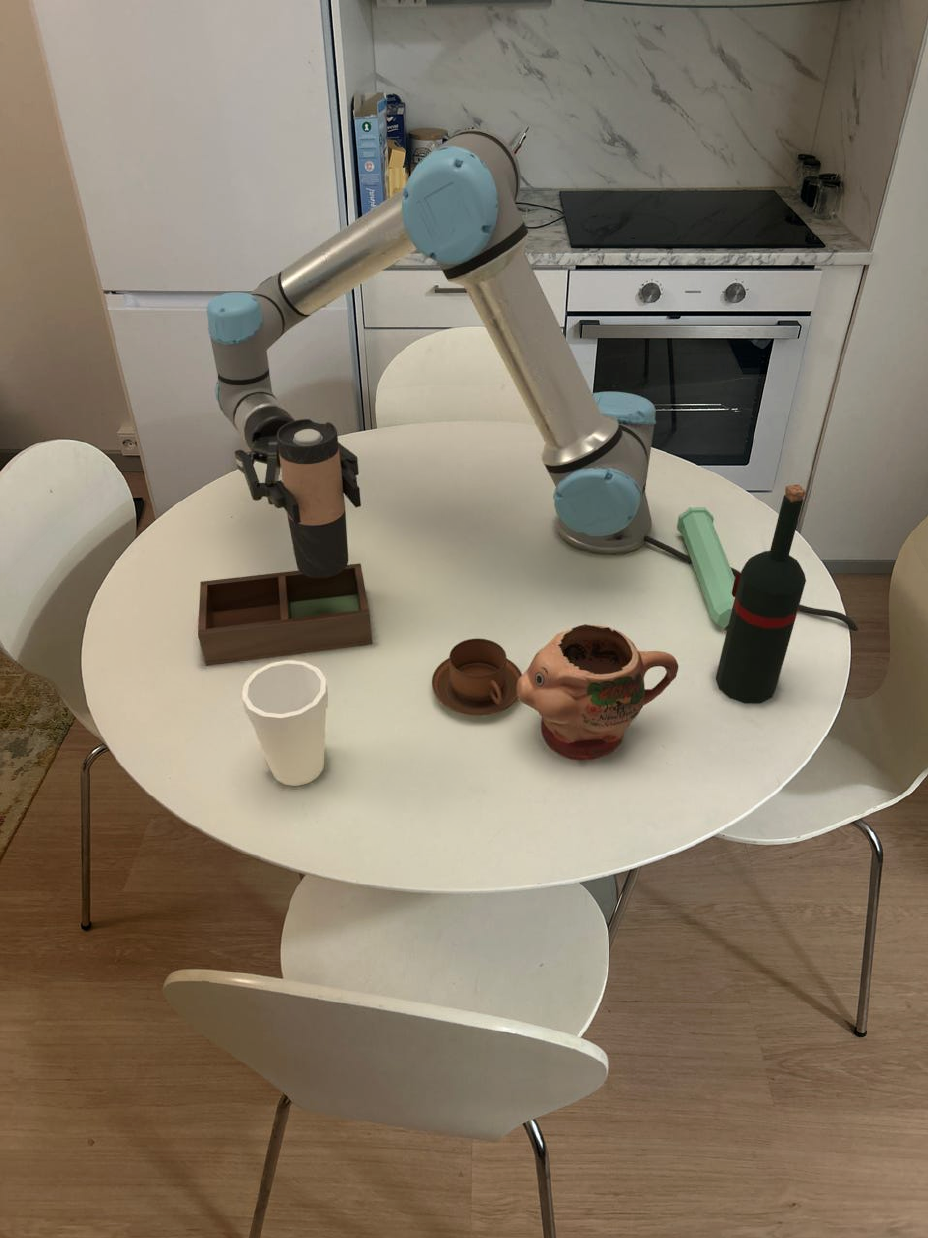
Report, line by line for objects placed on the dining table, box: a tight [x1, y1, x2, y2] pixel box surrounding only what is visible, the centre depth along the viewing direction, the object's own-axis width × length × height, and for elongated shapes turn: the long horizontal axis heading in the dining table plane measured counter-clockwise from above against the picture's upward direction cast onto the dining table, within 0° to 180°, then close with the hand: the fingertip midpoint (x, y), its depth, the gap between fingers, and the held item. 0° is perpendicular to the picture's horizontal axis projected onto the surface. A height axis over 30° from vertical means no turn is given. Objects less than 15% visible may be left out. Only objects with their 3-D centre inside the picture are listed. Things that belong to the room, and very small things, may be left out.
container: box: [676, 506, 735, 630], centre depth 138 cm, size 6×6×25 cm
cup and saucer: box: [431, 638, 523, 717], centre depth 119 cm, size 12×12×6 cm
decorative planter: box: [517, 623, 679, 761], centre depth 111 cm, size 20×12×14 cm, turn 107°
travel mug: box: [277, 418, 349, 578], centre depth 120 cm, size 8×8×20 cm
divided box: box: [197, 563, 373, 666], centre depth 130 cm, size 12×23×6 cm, turn 101°
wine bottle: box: [715, 483, 807, 704], centre depth 114 cm, size 8×10×30 cm
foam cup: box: [241, 659, 329, 787], centre depth 107 cm, size 10×9×13 cm
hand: (327, 505), depth 115 cm, fingers closed on travel mug, 7 cm apart
